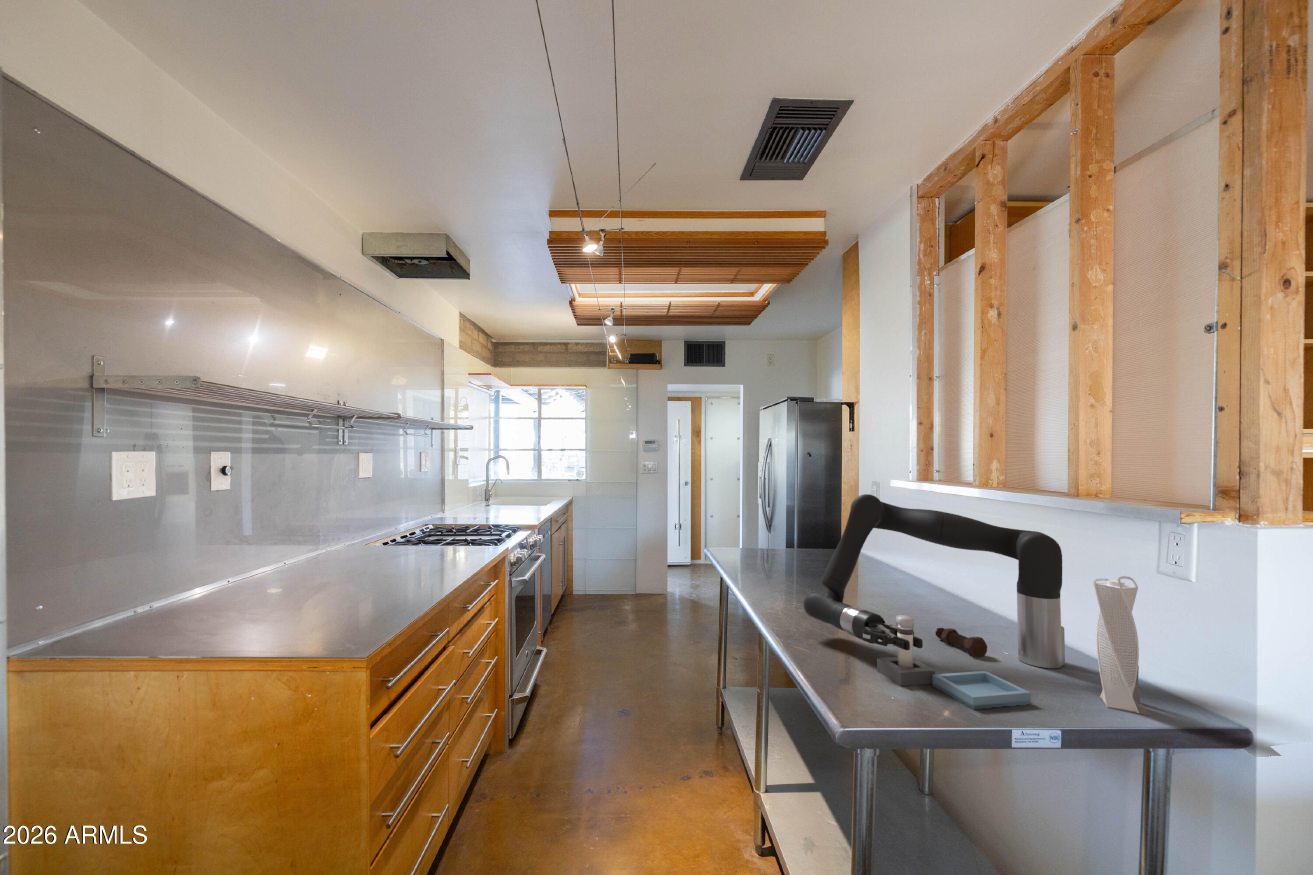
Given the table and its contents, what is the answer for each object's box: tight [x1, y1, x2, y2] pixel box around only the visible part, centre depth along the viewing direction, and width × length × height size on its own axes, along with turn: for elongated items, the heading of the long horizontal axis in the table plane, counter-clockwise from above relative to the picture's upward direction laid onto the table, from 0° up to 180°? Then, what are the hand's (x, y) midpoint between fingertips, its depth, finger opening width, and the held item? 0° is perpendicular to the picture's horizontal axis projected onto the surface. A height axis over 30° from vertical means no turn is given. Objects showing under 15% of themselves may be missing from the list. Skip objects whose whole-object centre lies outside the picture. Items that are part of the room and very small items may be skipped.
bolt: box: [935, 627, 988, 659], centre depth 148 cm, size 6×5×15 cm
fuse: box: [895, 614, 915, 669], centre depth 127 cm, size 4×4×14 cm
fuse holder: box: [876, 656, 936, 687], centre depth 127 cm, size 9×9×3 cm
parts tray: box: [932, 670, 1031, 710], centre depth 118 cm, size 14×12×2 cm
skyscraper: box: [1093, 575, 1152, 716], centre depth 114 cm, size 8×8×28 cm
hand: (914, 644), depth 125 cm, fingers closed on fuse, 3 cm apart
